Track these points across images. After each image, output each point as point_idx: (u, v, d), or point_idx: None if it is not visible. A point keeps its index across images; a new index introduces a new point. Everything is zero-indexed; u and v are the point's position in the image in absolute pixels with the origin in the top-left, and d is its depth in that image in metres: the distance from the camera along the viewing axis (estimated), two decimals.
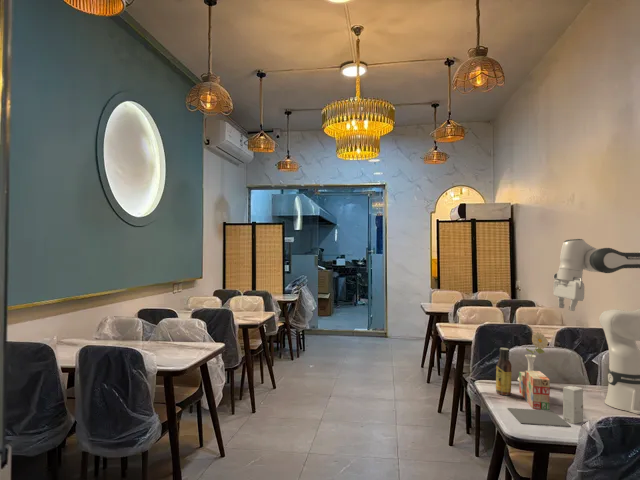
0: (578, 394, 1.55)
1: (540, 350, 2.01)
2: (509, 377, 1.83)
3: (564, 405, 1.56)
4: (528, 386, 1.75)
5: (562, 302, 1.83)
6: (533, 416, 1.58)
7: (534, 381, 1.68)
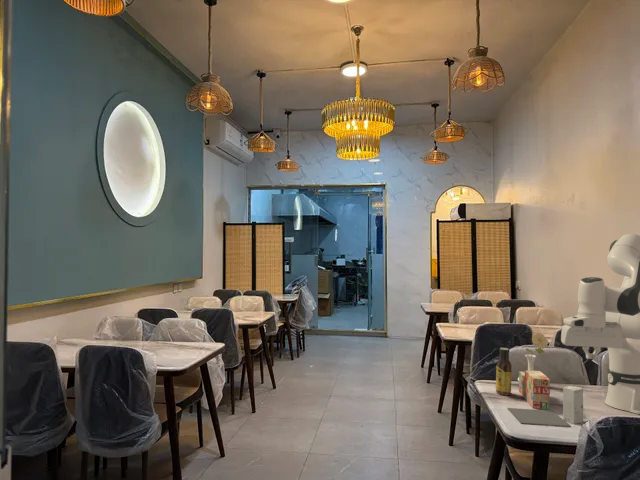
0: (578, 394, 1.55)
1: (540, 350, 2.01)
2: (509, 377, 1.83)
3: (564, 405, 1.56)
4: (528, 386, 1.75)
5: None
6: (533, 416, 1.58)
7: (534, 381, 1.68)
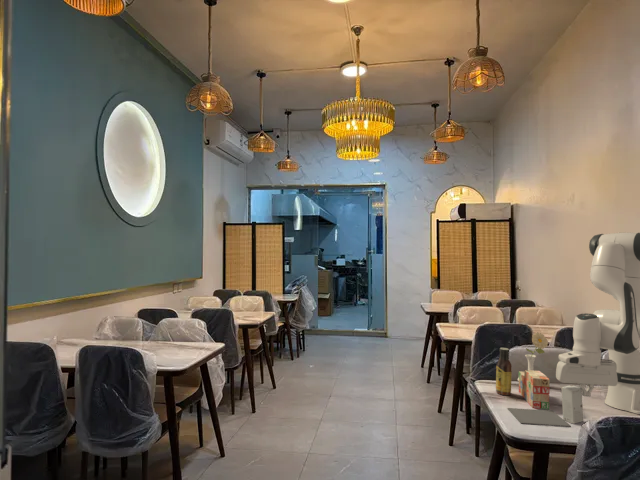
0: (576, 393, 1.55)
1: (540, 350, 2.01)
2: (509, 377, 1.83)
3: (563, 405, 1.56)
4: (528, 386, 1.75)
5: None
6: (533, 416, 1.58)
7: (534, 381, 1.69)
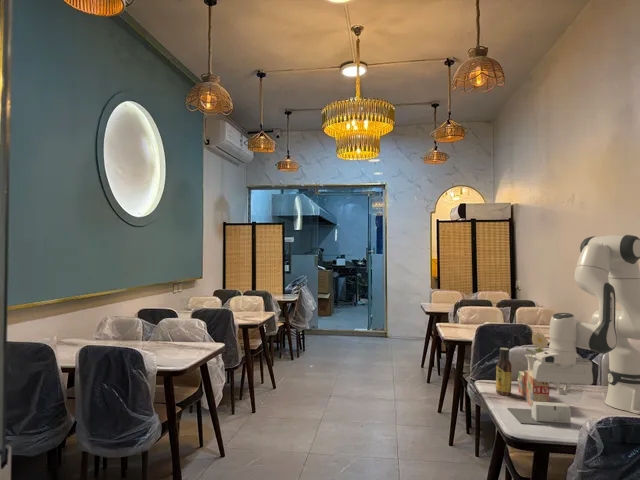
0: (541, 413, 1.53)
1: (540, 350, 2.01)
2: (509, 377, 1.83)
3: None
4: (528, 386, 1.75)
5: None
6: None
7: (534, 381, 1.69)
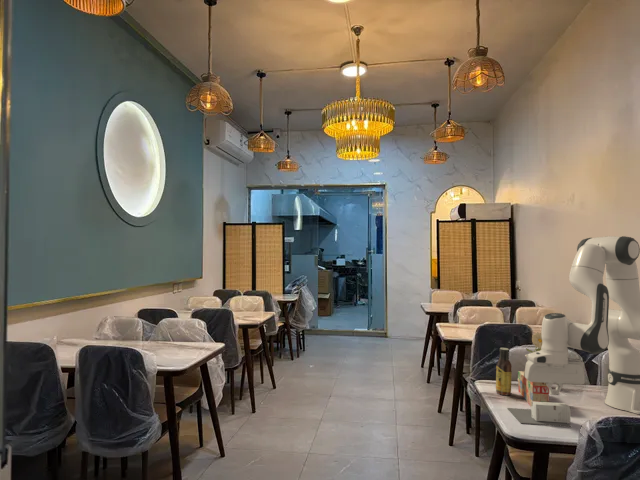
0: (540, 413, 1.53)
1: None
2: (509, 377, 1.83)
3: None
4: (527, 385, 1.75)
5: None
6: None
7: None
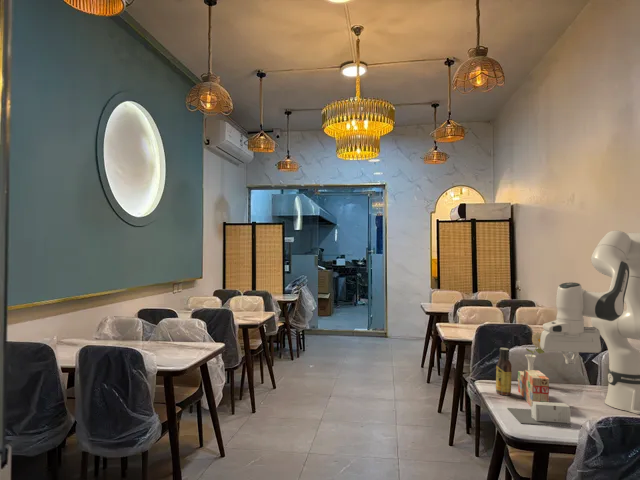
0: (540, 413, 1.53)
1: (540, 350, 2.01)
2: (509, 377, 1.83)
3: None
4: (527, 385, 1.76)
5: None
6: None
7: (533, 380, 1.69)
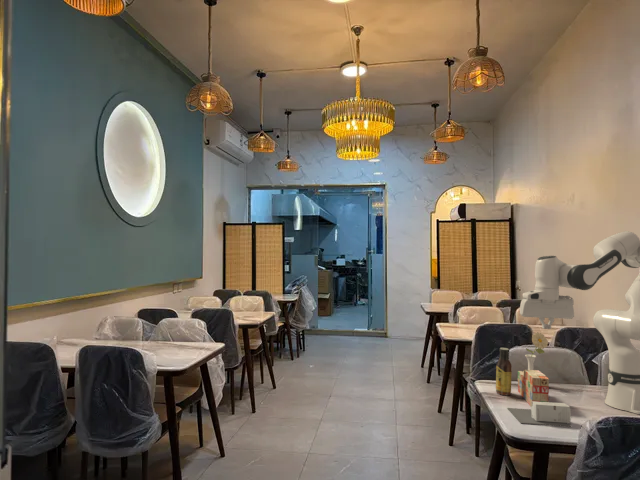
0: (540, 413, 1.53)
1: (540, 350, 2.01)
2: (509, 377, 1.83)
3: None
4: (527, 385, 1.76)
5: None
6: None
7: (533, 380, 1.69)
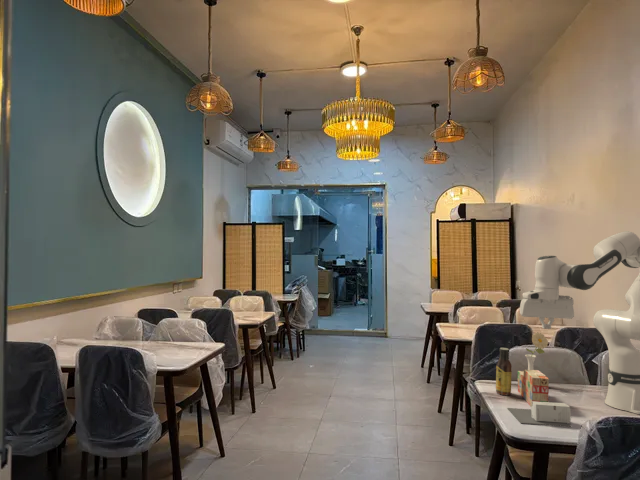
0: (540, 413, 1.53)
1: (540, 350, 2.01)
2: (509, 377, 1.83)
3: None
4: (527, 385, 1.76)
5: None
6: None
7: (533, 380, 1.69)
